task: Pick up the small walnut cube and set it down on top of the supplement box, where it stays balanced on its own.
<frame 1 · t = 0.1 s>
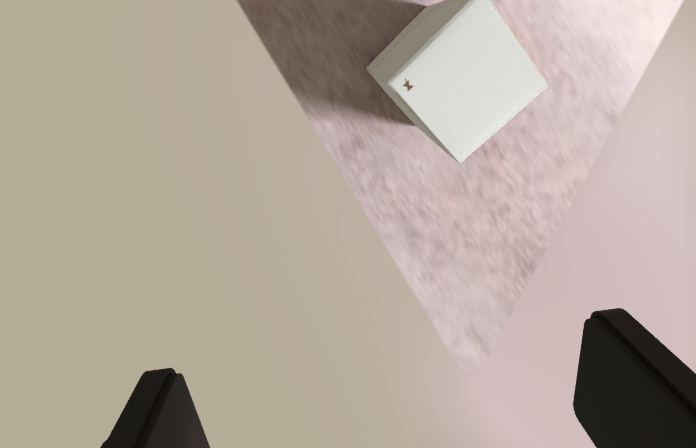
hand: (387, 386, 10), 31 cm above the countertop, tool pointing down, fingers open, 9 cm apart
supplement box: (422, 69, 37), on the countertop
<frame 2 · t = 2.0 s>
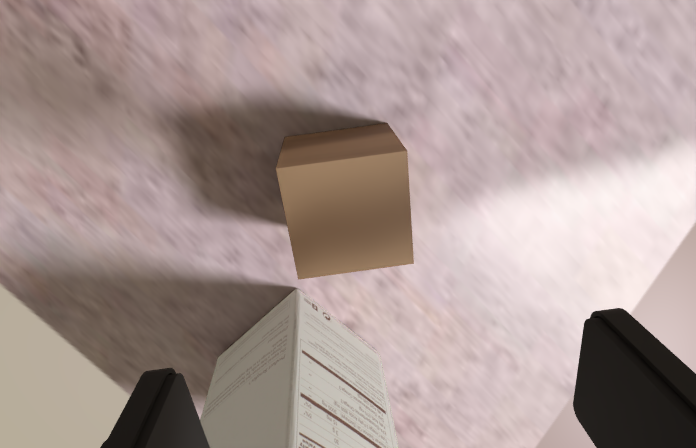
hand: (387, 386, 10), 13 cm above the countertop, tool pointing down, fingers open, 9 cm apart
supplement box: (300, 351, 26), on the countertop
walnut cube: (342, 178, 21), on the countertop
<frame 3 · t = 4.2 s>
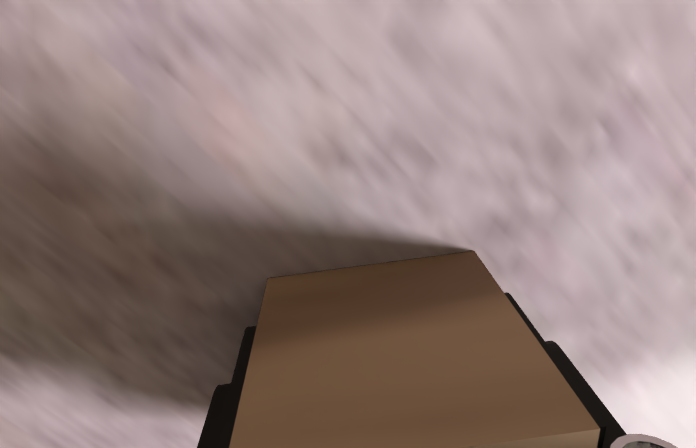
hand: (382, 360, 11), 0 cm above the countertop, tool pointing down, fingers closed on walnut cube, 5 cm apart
walnut cube: (380, 346, 11), on the countertop, touching gripper
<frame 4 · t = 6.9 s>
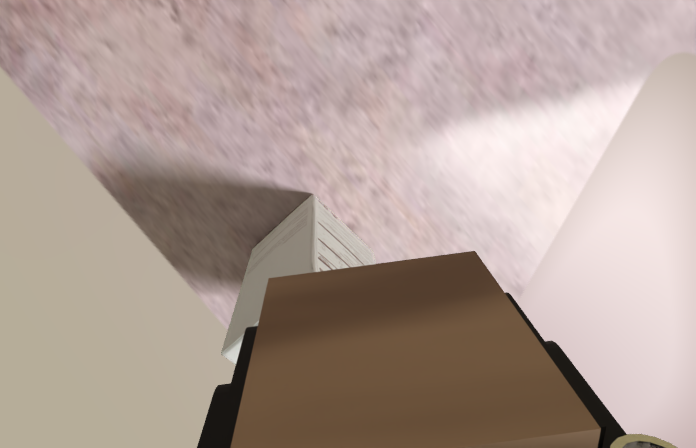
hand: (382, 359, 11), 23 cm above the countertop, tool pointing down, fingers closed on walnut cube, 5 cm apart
supplement box: (313, 247, 35), on the countertop
walnut cube: (380, 346, 11), point 22 cm above the countertop, touching gripper
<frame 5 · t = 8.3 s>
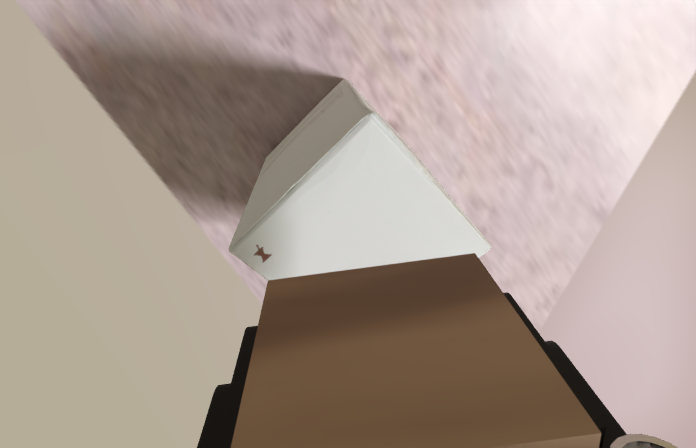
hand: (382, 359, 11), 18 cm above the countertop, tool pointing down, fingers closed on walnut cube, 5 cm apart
supplement box: (344, 157, 27), on the countertop
walnut cube: (380, 348, 11), point 18 cm above the countertop, touching gripper
when the fingers open (14 cm above the countertop, at t = 9.7 s): walnut cube drops 1 cm, resting on supplement box.
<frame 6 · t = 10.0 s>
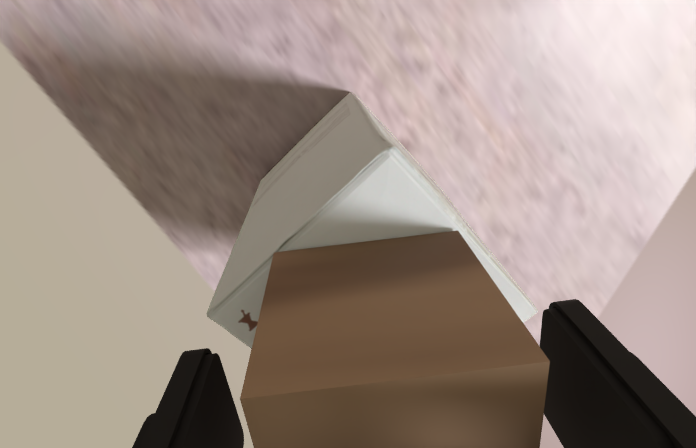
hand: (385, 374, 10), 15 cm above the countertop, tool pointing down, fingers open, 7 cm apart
supplement box: (349, 180, 24), on the countertop, touching walnut cube
walnut cube: (373, 317, 12), point 13 cm above the countertop, touching supplement box
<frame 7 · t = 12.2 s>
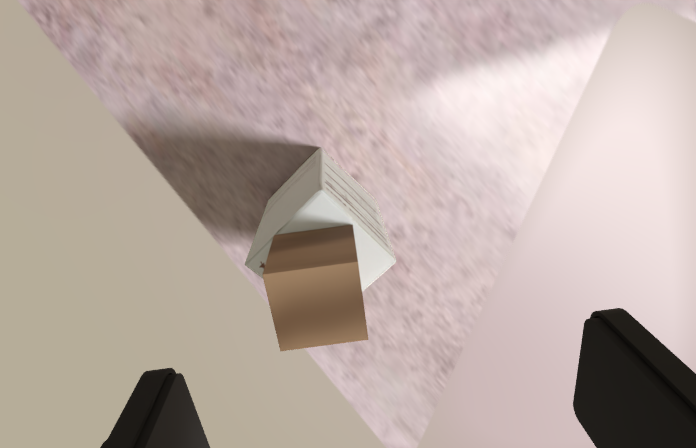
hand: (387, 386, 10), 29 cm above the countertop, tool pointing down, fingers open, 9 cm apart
supplement box: (322, 198, 39), on the countertop, touching walnut cube
walnut cube: (319, 264, 27), point 13 cm above the countertop, touching supplement box
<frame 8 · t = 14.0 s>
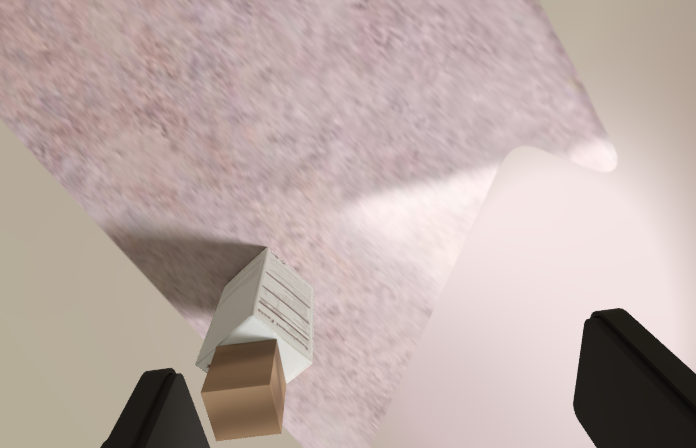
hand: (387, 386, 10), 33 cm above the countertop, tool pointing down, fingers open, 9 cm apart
supplement box: (270, 284, 47), on the countertop, touching walnut cube
walnut cube: (252, 365, 36), point 13 cm above the countertop, touching supplement box
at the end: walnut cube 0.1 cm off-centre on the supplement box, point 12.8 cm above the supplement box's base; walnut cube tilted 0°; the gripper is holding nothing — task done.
